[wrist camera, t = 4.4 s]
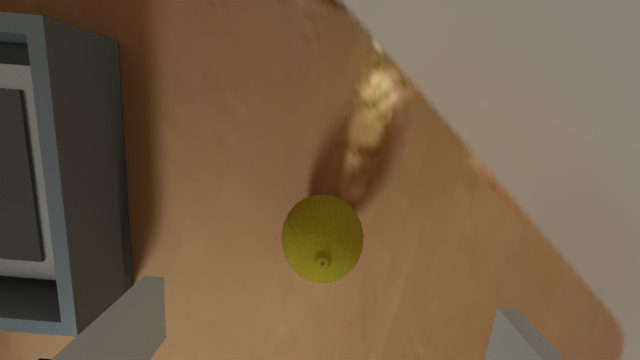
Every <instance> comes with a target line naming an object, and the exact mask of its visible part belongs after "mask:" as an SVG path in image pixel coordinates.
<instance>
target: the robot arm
mask: <svg viewBox="0 0 640 360" xmlns="http://www.w3.org/2000/svg"><path fill="white" fill-rule="evenodd" d="M165 338H166V325H165V299H164V278H163V277H152V276H144V277H142V278H141V279H140V280H139V281H138V282H137V283H136V284H135V285H134V286H132V287H131V288H130V289H129V290H128V291H127V292H126V293H125V294H124V295H122V296H121V297H120V298H119V299H118V300H117V301H116V302H115V303H114V304H112V305H111V306H110V307H109V308H108V309H107V310H106V311H105V312H104V313H102V314H101V315H100V316H99V317H98V318H97V319H96V320H95V321H94V322H92V323H91V324H90V325H89V326H88V327H87V328H86V329H85V330H84V331H82V332H81V333H80V334H79V335H78V336H77V337H76V338H75V339H74V340H73V341H71V342H70V343H69V344H68V345H67V346H66V347H65V348H64V349H63V350H61V351H60V352H59V353H58V354H57V355H56V356H55V357H54V358H53V359H41V358H40V359H38V360H150V359H151V357H152V356H153V355H154V353H155V352H156V350H157V349H158V348H159V346H160V345H161V343H162V342H163V341H164V339H165ZM485 360H564V359H563V357H562V356H561V355H560V354H559V353H558V352H557V351H556V350H555V349H554V348H553V347H552V346H551V345H550V344H549V343H548V342H547V341H546V340H545V338H544V337H543V336H542V335H541V334H540V333H539V332H538V331H537V330H536V329H535V328H534V327H533V326H532V325H531V324H530V323H529V322H528V320H527V319H526V318H525V317H524V316H523V315H522V314H521V313H520V312H519V311H518V310H514V309H503V308H498V309H497V313H496V317H495V321H494V325H493V329H492V333H491V337H490V341H489V345H488V349H487V353H486V357H485Z"/></svg>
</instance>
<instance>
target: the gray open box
mask: <svg viewBox="0 0 640 360" xmlns="http://www.w3.org/2000/svg"><path fill="white" fill-rule="evenodd" d="M0 64H12V65H23V66H30V69H31V77H32V85H33V93H34V102H35V110H36V118H37V126H38V135H39V143H40V151H41V159H42V168H43V176H44V184H45V192H46V201H47V209H48V217H49V225H50V233H51V242H52V250H53V258H54V266H55V275H56V280H48V279H36V278H24V277H12V276H1V275H0V330H4V331H15V332H27V333H39V334H51V335H63V336H74V337H77V336H78V335H79V334H80V333H81V332H82V331H84V330H85V329H86V328H87V327H88V326H89V325H90V324H91V323H92V322H94V321H95V320H96V319H97V318H98V317H99V316H100V315H101V314H102V313H104V312H105V311H106V310H107V309H108V308H109V307H110V306H111V305H112V304H114V303H115V302H116V301H117V300H118V299H119V298H120V297H121V296H122V295H124V294H125V293H126V292H127V291H128V290H129V289H130V288H131V287H132V286H133V284H132V267H131V250H130V233H129V216H128V199H127V182H126V165H125V148H124V132H123V115H122V98H121V81H120V64H119V47H118V41H116V40H113V39H110V38H108V37H105V36H102V35H99V34H96V33H93V32H90V31H87V30H84V29H81V28H78V27H76V26H73V25H70V24H67V23H64V22H61V21H58V20H55V19H52V18H49V17H46V16H43V15H35V14H23V13H12V12H0Z"/></svg>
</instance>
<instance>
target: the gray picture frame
mask: <svg viewBox="0 0 640 360" xmlns="http://www.w3.org/2000/svg"><path fill="white" fill-rule="evenodd" d="M0 275H1V276H12V277H24V278H36V279H48V280H56V275H55V266H54V258H53V250H52V242H51V233H50V225H49V217H48V209H47V201H46V192H45V184H44V176H43V168H42V159H41V151H40V143H39V135H38V126H37V118H36V110H35V102H34V93H33V85H32V77H31V69H30V66H23V65H12V64H0Z"/></svg>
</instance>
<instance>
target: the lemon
mask: <svg viewBox="0 0 640 360" xmlns="http://www.w3.org/2000/svg"><path fill="white" fill-rule="evenodd" d="M362 246H363V231H362V225H361V222H360V220H359V218H358V216H357V214H356V212H355V211H354V210H353V208H352V207H351V206H350V205H349V204H348V203H346V202H345V201H344V200H342V199H341V198H338V197H336V196H333V195H327V194H318V195H312V196H309V197H307V198H304V199H303V200H301V201H300V202H299V203H297V204H296V205H295V206H294V207H293V208H292V210H291V211H290V212H289V214H288V216H287V218H286V220H285V222H284V225H283V231H282V247H283V252H284V255H285V257H286V260H287V262H288V264H289V265H290V266H291V268H292V269H293V271H294V272H296V273H297V274H298V275H299V276H300V277H302V278H304V279H306V280H308V281H311V282H315V283H329V282H334V281H337V280H339V279H341V278H343V277H344V276H346V275H347V274H348V273H349V272H350V271H351V270H352V269H353V268H354V266H355V265H356V263H357V262H358V259H359V257H360V254H361V251H362Z"/></svg>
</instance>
